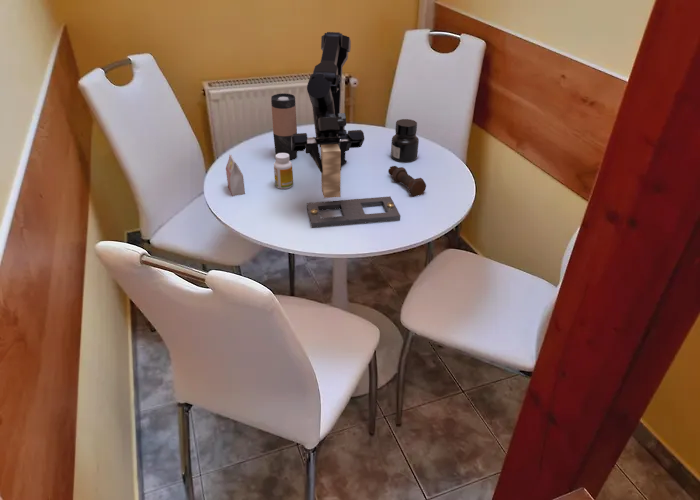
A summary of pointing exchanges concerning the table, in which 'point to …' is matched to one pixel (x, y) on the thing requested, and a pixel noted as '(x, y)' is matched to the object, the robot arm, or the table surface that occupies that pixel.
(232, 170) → the tea bag
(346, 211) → the strike plate
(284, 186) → the supplement bottle
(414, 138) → the ink bottle
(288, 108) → the travel mug
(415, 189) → the bolt
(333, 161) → the birch peg
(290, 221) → the table surface
